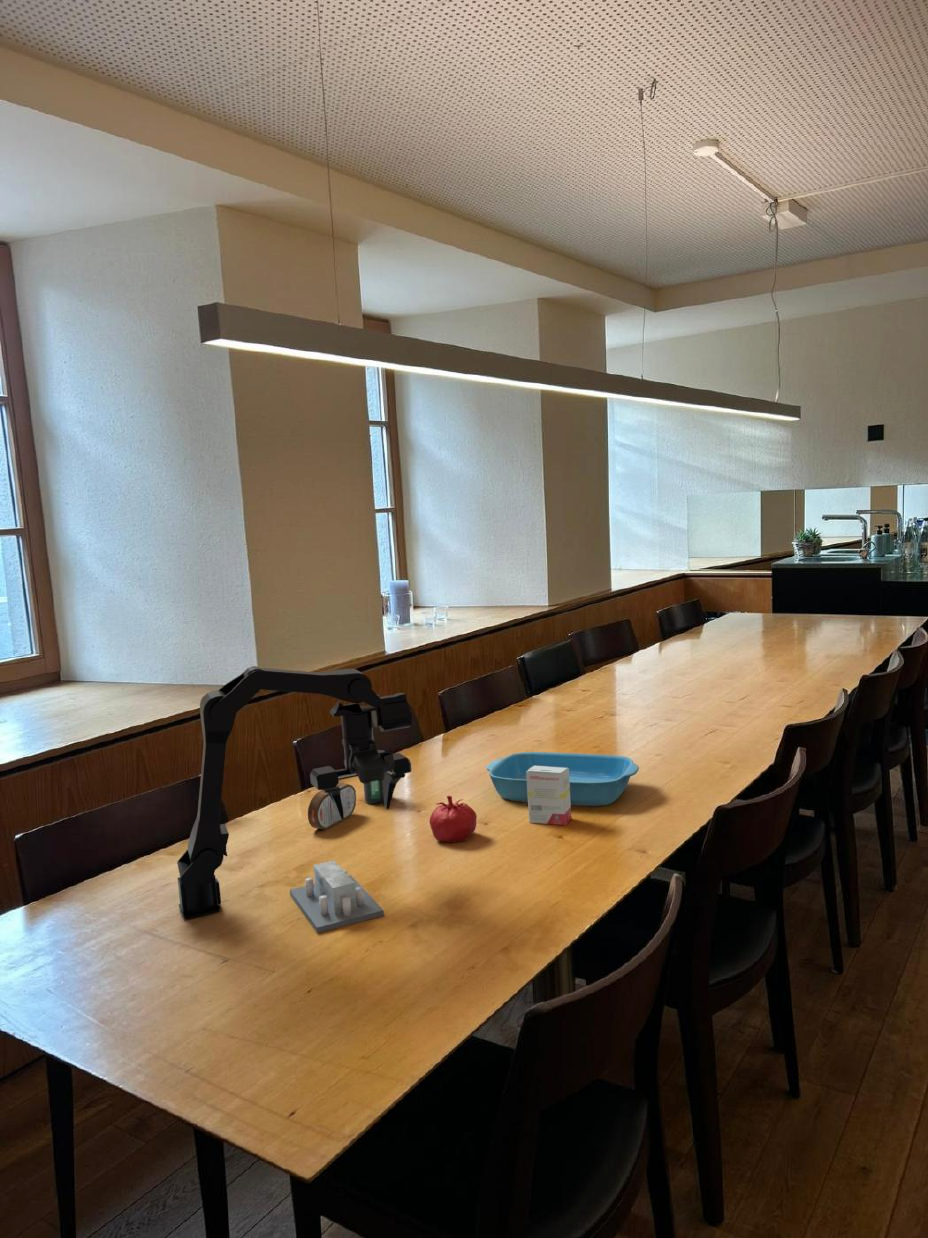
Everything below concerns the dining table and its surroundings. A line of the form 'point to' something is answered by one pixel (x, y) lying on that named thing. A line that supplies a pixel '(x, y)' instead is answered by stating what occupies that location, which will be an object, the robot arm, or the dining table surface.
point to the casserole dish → (588, 775)
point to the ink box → (548, 795)
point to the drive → (334, 885)
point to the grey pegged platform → (323, 916)
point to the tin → (331, 807)
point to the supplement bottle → (374, 791)
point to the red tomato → (453, 821)
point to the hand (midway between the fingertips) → (364, 813)
